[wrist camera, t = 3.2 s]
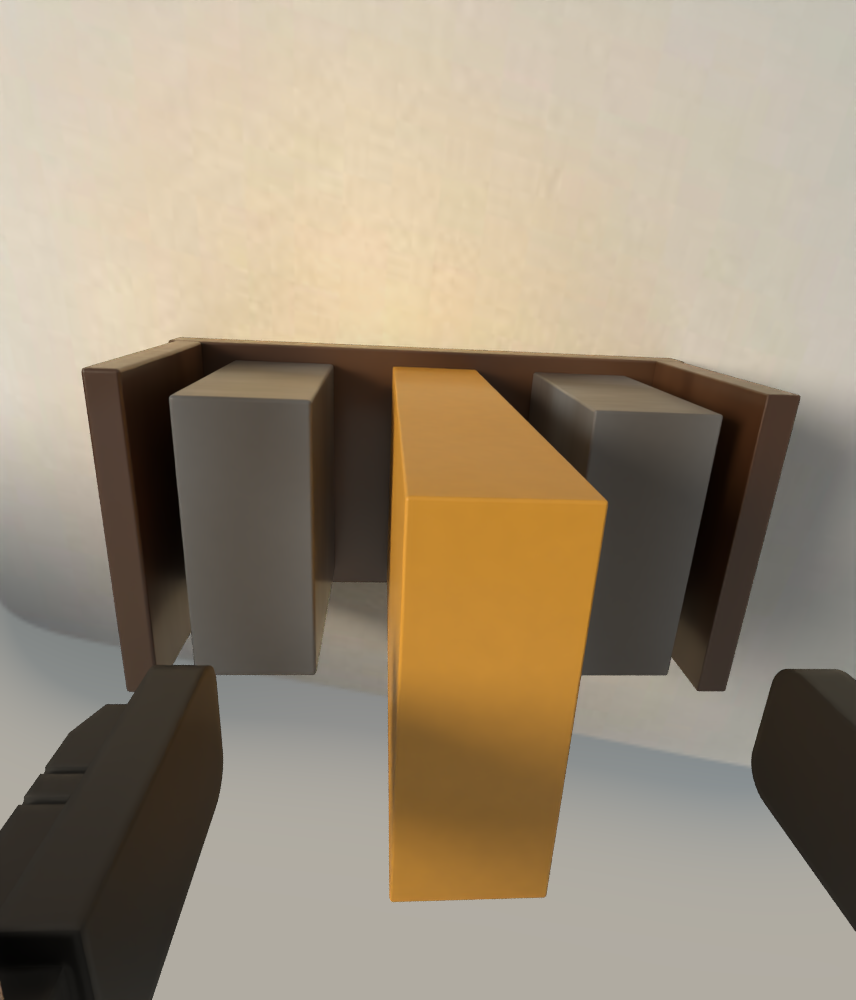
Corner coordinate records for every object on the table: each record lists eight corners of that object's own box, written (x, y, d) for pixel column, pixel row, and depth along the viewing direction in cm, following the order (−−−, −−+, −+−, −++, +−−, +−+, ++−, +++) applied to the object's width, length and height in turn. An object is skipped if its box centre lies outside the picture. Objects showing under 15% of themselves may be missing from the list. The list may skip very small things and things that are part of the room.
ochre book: (387, 570, 21) (389, 903, 10) (392, 366, 19) (404, 495, 7) (461, 571, 21) (547, 898, 10) (476, 369, 19) (610, 500, 8)
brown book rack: (198, 567, 22) (117, 693, 15) (177, 337, 19) (68, 366, 12) (633, 574, 23) (732, 692, 16) (672, 358, 20) (810, 395, 14)
